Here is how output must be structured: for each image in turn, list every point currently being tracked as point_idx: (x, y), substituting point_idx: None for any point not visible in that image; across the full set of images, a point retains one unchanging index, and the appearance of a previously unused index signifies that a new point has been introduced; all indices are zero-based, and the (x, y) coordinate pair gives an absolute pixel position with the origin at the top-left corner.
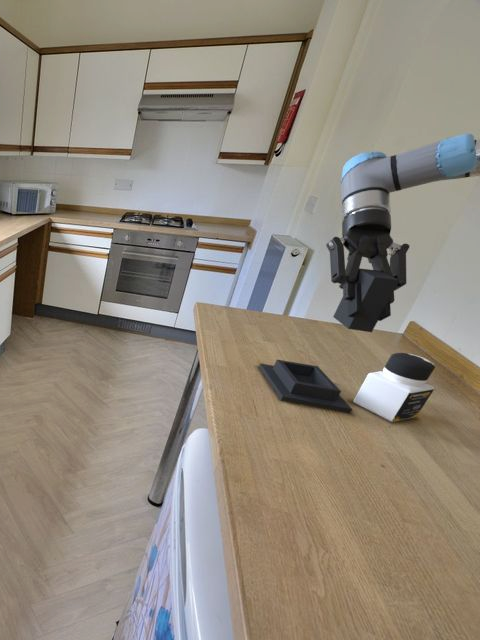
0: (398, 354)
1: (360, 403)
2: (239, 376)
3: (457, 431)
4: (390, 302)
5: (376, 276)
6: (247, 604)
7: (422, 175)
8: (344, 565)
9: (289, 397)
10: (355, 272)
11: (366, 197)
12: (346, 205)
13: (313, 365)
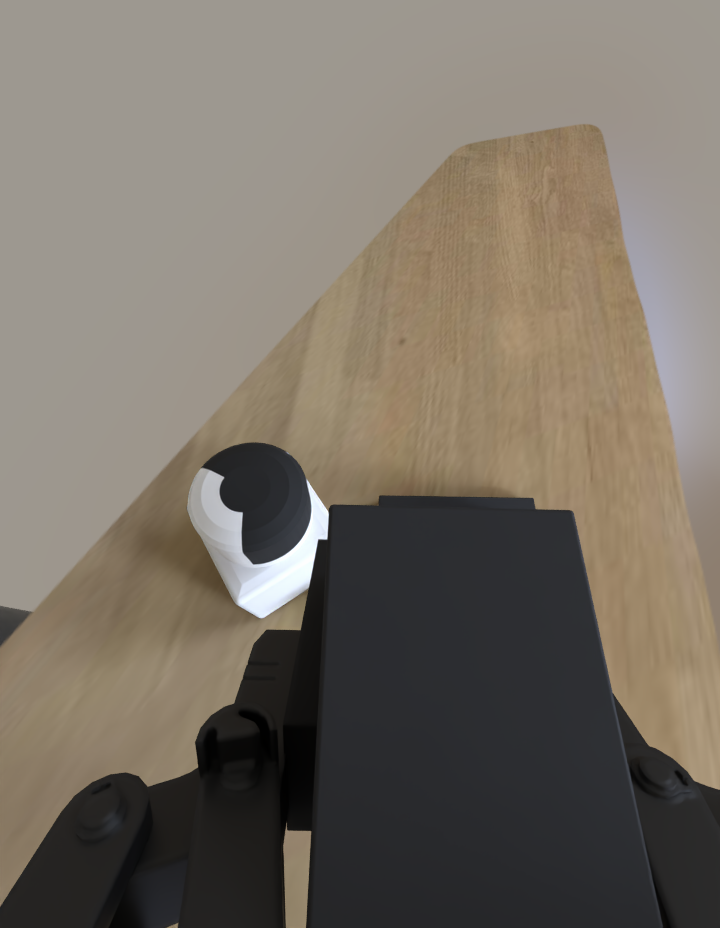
0: (285, 506)
1: None
2: (625, 608)
3: (156, 506)
4: (281, 634)
5: (544, 553)
6: (605, 150)
7: None
8: (519, 192)
9: (518, 498)
10: (701, 918)
11: None
12: None
13: None
